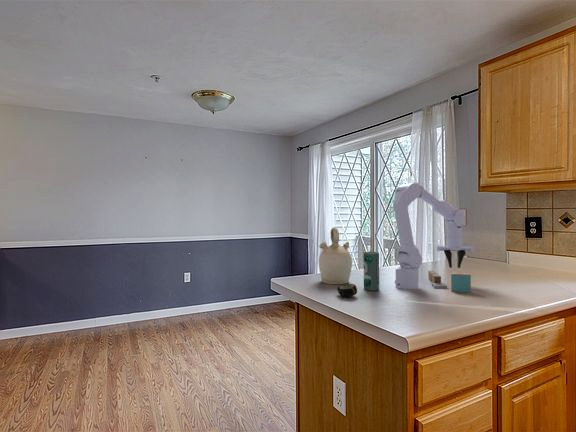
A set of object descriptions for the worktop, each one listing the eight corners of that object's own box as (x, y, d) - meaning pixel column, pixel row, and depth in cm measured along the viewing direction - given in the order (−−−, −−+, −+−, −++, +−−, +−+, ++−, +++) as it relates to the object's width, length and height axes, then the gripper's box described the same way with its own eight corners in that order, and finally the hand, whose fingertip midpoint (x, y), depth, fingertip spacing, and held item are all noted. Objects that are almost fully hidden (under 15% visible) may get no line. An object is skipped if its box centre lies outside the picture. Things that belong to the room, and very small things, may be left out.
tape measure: (355, 290, 134) (353, 281, 133) (359, 296, 127) (357, 286, 127) (338, 294, 134) (336, 285, 133) (341, 300, 127) (339, 291, 126)
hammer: (425, 279, 161) (425, 270, 161) (437, 279, 160) (436, 271, 160) (434, 288, 142) (434, 278, 142) (447, 288, 141) (447, 279, 141)
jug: (317, 285, 151) (316, 228, 150) (320, 278, 166) (319, 226, 166) (352, 286, 148) (352, 228, 148) (352, 278, 164) (351, 226, 163)
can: (363, 287, 146) (363, 251, 146) (378, 287, 145) (377, 251, 145) (364, 290, 140) (364, 253, 140) (379, 290, 139) (379, 253, 139)
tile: (451, 291, 136) (451, 273, 136) (450, 290, 139) (450, 272, 139) (470, 292, 134) (470, 274, 134) (469, 291, 136) (469, 273, 136)
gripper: (438, 237, 149) (438, 268, 149) (475, 237, 145) (475, 269, 145) (435, 235, 156) (435, 265, 156) (470, 236, 152) (471, 266, 152)
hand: (454, 267), depth 151 cm, fingers open, 3 cm apart
